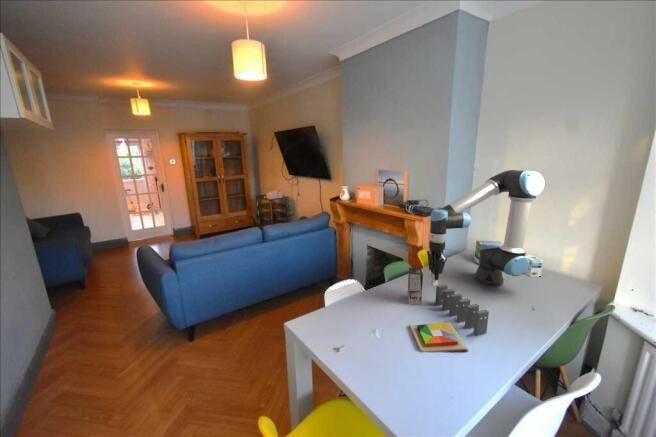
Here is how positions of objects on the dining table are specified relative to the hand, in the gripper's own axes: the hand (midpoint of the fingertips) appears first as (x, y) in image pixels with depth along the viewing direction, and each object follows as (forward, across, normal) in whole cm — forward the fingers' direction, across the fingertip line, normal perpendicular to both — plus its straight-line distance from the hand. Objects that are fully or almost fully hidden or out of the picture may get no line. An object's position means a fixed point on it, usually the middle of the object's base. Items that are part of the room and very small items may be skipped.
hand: (434, 284), depth 147 cm
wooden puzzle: (+9, +28, -19) cm, 35 cm away
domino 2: (+8, +11, 0) cm, 13 cm away
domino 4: (+8, +21, 0) cm, 22 cm away
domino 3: (+8, +16, 0) cm, 18 cm away
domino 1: (+8, +6, 0) cm, 10 cm away
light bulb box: (+8, -8, +76) cm, 77 cm away
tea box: (+8, -30, +66) cm, 73 cm away
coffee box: (+8, -2, -10) cm, 13 cm away
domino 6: (+8, +31, 0) cm, 32 cm away
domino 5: (+8, +26, 0) cm, 27 cm away
